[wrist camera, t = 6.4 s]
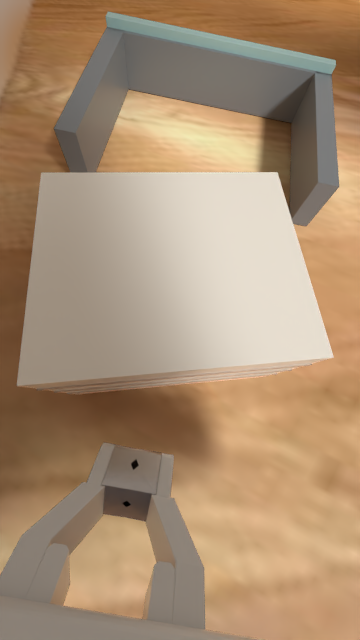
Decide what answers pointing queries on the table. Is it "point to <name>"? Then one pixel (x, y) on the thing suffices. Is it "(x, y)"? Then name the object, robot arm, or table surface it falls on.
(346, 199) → the table surface
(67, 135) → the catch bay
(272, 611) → the table surface
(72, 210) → the tile stack
